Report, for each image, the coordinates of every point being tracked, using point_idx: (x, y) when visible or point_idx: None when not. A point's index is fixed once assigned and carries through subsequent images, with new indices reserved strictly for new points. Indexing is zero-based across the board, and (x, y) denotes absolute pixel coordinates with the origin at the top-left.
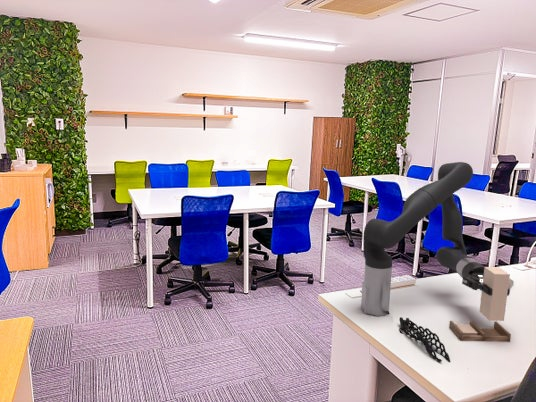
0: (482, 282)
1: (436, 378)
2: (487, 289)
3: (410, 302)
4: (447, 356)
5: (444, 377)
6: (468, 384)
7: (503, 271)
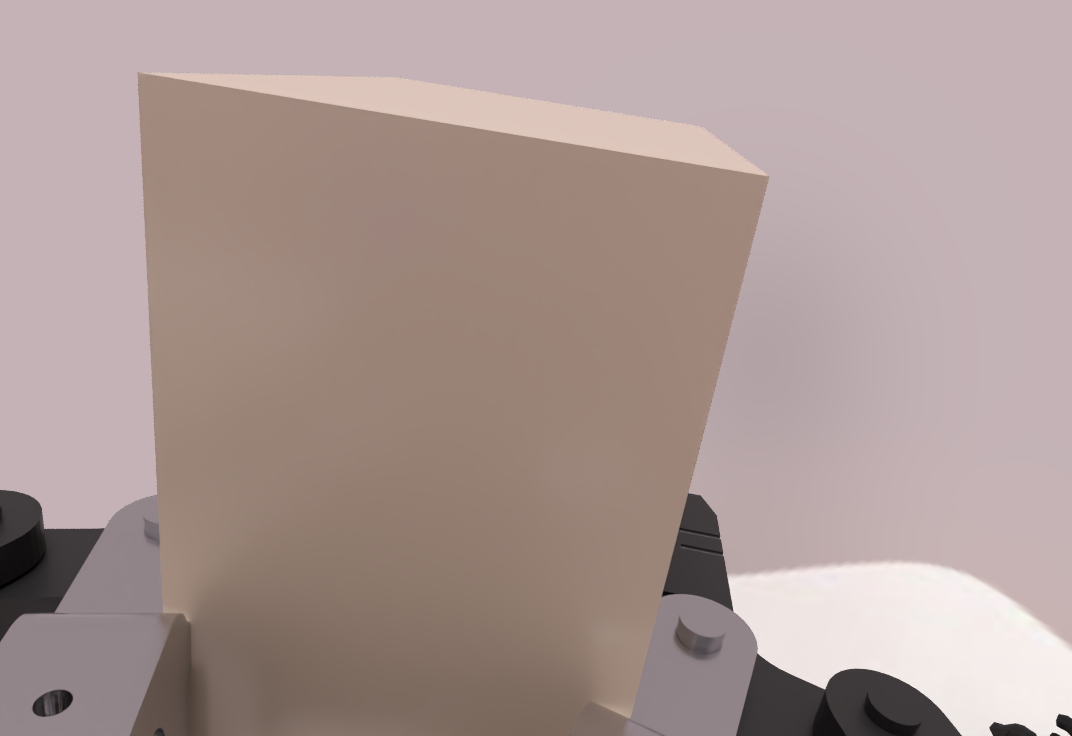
0: (705, 636)
1: (1059, 674)
2: (701, 499)
3: None
4: (1025, 727)
5: (1013, 672)
6: (884, 610)
7: (380, 84)
